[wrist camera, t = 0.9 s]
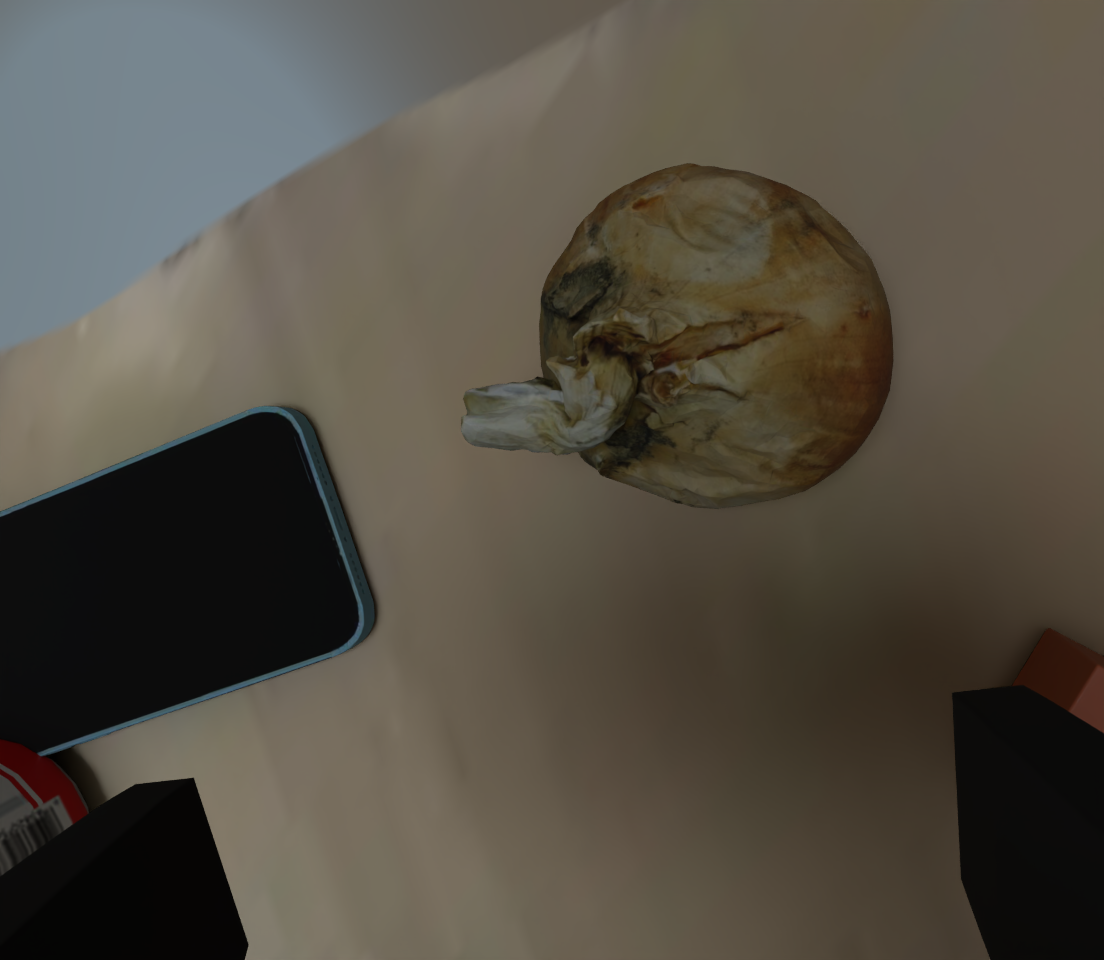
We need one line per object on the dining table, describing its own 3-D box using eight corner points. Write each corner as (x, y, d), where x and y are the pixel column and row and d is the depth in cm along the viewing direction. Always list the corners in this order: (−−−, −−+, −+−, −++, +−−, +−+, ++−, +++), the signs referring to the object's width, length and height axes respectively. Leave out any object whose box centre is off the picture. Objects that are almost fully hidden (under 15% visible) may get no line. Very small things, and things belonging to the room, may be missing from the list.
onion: (791, 565, 25) (791, 623, 17) (514, 427, 27) (401, 423, 19) (934, 287, 24) (1003, 216, 16) (638, 161, 25) (571, 40, 18)
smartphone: (376, 643, 27) (-64, 793, 30) (390, 635, 28) (-36, 781, 31) (288, 391, 27) (-139, 566, 30) (306, 393, 28) (-108, 562, 31)
